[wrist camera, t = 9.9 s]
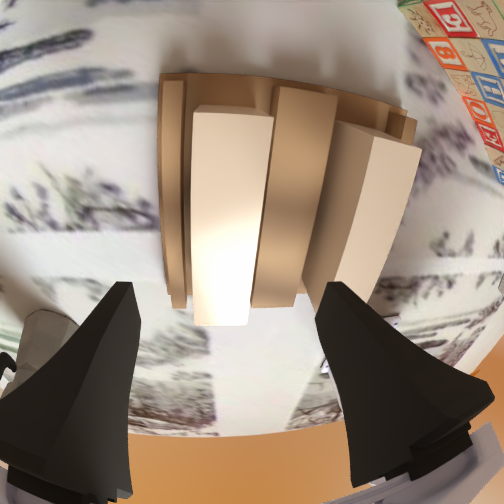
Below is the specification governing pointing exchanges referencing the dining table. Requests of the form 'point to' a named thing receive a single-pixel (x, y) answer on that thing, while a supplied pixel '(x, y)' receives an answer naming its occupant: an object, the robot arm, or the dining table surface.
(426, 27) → the stack of blocks
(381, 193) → the cream long block
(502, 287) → the tankard
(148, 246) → the dining table surface
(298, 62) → the dining table surface
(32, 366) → the coffeepot
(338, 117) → the rack
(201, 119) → the beige rectangular block
